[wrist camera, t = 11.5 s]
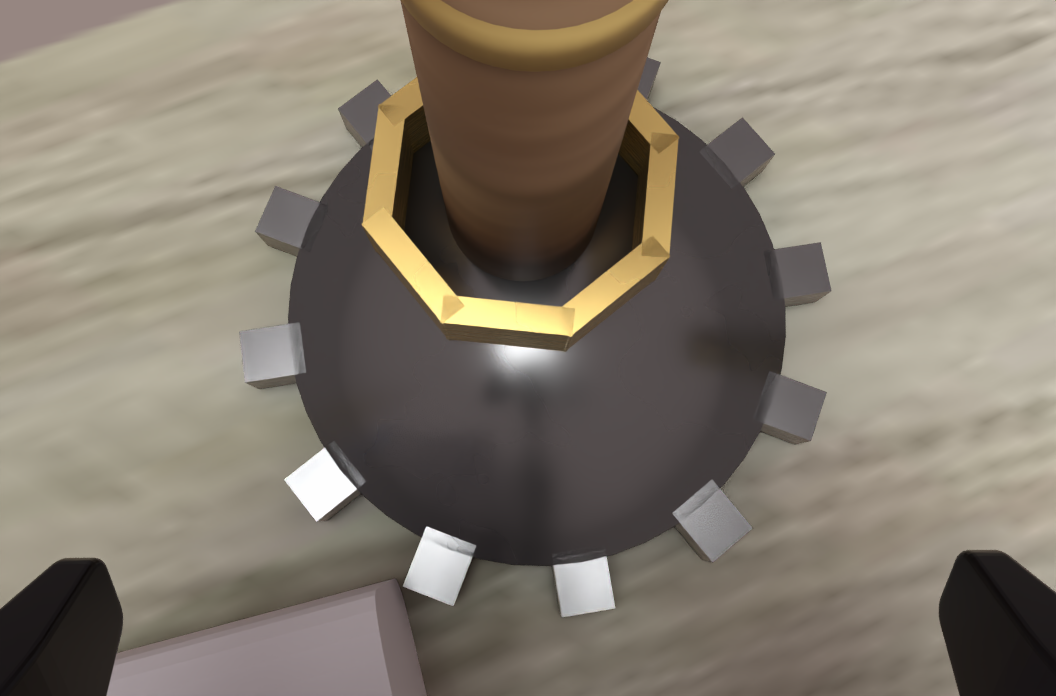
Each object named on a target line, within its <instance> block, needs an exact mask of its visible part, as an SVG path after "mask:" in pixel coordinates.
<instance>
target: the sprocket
mask: <svg viewBox="0 0 1056 696" xmlns="http://www.w3.org/2000/svg"><path fill="white" fill-rule="evenodd" d="M660 63H661V62H658V61H655V60H653V59H650V58H647V59H646V63H645V66H644V69H643V73H642V76H641V79H640V82H639V86H638V89H637V92H636V96H635V99H634V102H633V106H632V109H631V112H630V116H629V119H628V122H627V126H626V129H625V132H624V136H623V139H622V142H621V146H620V149H619V152H618V156H617V159H616V162H615V166H614V169H613V172H612V176H611V179H610V182H609V186H608V189H607V192H606V196H605V199H604V202H603V206H602V209H601V212H600V216H599V219H598V222H597V225H596V229H595V232H594V234H593V237H592V239H591V241H590V243H589V245H588V246H587V248H586V249H585V251H584V252H583V253H582V255H581V256H580V257H579V258H578V259H577V260H576V261H575V262H574V263H572V264H571V265H570V266H569V267H567V268H566V269H564V270H563V271H561V272H559V273H557V274H555V275H553V276H550V277H547V278H544V279H539V280H534V281H512V280H507V279H502V278H499V277H496V276H493V275H491V274H489V273H487V272H485V271H483V270H482V269H480V268H479V267H477V266H476V265H475V264H473V263H472V262H471V261H470V260H469V259H468V258H467V257H466V256H465V255H464V254H463V252H462V251H461V250H460V248H459V247H458V245H457V244H456V242H455V240H454V238H453V236H452V233H451V230H450V227H449V223H448V218H447V214H446V209H445V204H444V200H443V195H442V190H441V186H440V181H439V176H438V172H437V167H436V163H435V158H434V153H433V149H432V144H431V139H430V135H429V130H428V125H427V121H426V116H425V111H424V107H423V102H422V97H421V93H420V88H419V83H418V79H417V77H416V78H415V79H414V80H412V81H411V82H410V83H408V84H407V85H406V86H404V87H403V88H402V89H400V90H399V91H398V92H396V93H395V94H393V95H392V96H391V95H390V94H389V93H388V92H387V90H386V89H385V88H384V87H383V86H382V84H381V83H380V82H379V81H378V80H376V81H375V82H373V83H372V84H371V85H369V86H368V87H367V88H365V89H364V90H362V91H361V92H360V93H358V94H357V95H356V96H354V97H353V98H352V99H350V100H349V101H348V102H346V103H345V104H343V105H342V106H341V107H339V108H338V110H339V112H340V115H341V117H342V119H343V122H344V124H345V126H346V129H347V130H348V131H349V132H350V133H351V135H352V136H353V137H354V138H355V139H356V141H357V142H358V143H359V144H360V145H361V147H362V148H361V149H360V150H359V151H358V153H357V154H356V155H355V156H354V157H353V158H352V159H351V160H350V161H349V162H348V164H347V165H346V166H345V167H344V168H343V169H342V170H341V171H340V173H339V174H338V176H337V177H336V178H335V180H334V181H333V183H332V184H331V186H330V187H329V189H328V190H327V191H326V193H325V194H324V196H323V197H322V199H321V201H320V202H317V201H315V200H312V199H309V198H306V197H304V196H301V195H298V194H296V193H293V192H290V191H288V190H285V189H282V188H280V187H277V186H275V188H274V190H273V192H272V195H271V197H270V199H269V201H268V204H267V206H266V208H265V210H264V212H263V215H262V217H261V219H260V221H259V224H258V226H257V228H256V230H255V232H256V233H257V234H258V235H259V236H260V237H261V238H262V239H263V241H264V242H265V243H266V244H267V245H268V246H271V247H273V248H276V249H279V250H281V251H284V252H287V253H289V254H292V255H295V256H297V259H296V264H295V268H294V273H293V278H292V282H291V289H290V301H289V314H288V323H289V324H285V325H279V326H272V327H266V328H259V329H253V330H246V331H240V332H239V333H240V342H241V351H242V360H243V369H244V378H245V383H247V384H249V385H251V386H254V387H256V388H258V389H262V388H269V387H275V386H281V385H288V384H294V383H297V386H298V389H299V392H300V395H301V398H302V401H303V404H304V407H305V410H306V413H307V415H308V417H309V419H310V421H311V423H312V425H313V427H314V429H315V431H316V433H317V435H318V437H319V439H320V441H321V443H322V444H323V446H324V447H325V448H324V449H322V450H321V451H320V452H318V453H317V454H316V455H315V456H313V457H312V458H311V459H310V460H308V461H307V462H306V463H305V464H303V465H302V466H301V467H299V468H298V469H297V470H296V471H294V472H293V473H292V474H291V475H289V476H288V477H287V478H286V479H284V480H285V481H286V483H287V484H288V485H289V487H290V488H291V489H292V490H293V492H294V493H295V494H296V496H297V497H298V498H299V500H300V501H301V502H302V503H303V505H304V506H305V507H306V509H307V510H308V511H309V513H310V514H311V515H312V516H313V518H314V519H315V520H316V522H318V521H327V520H329V519H330V518H331V517H332V516H334V515H335V514H336V513H337V512H338V511H340V510H341V509H342V508H343V507H345V506H346V505H347V504H348V503H350V502H351V501H352V500H353V499H355V498H356V497H357V496H358V495H360V494H362V495H363V496H364V497H366V498H367V499H368V500H369V501H370V502H371V503H373V504H374V505H375V506H376V507H377V508H378V509H380V510H381V511H382V512H383V513H384V514H385V515H387V516H388V517H389V518H391V519H393V520H394V521H396V522H397V523H399V524H400V525H402V526H403V527H405V528H407V529H408V530H410V531H411V532H413V533H414V534H416V535H418V536H420V537H422V539H421V541H420V544H419V546H418V549H417V551H416V554H415V557H414V559H413V562H412V564H411V567H410V569H409V572H408V574H407V577H406V579H405V582H404V585H403V587H406V588H408V589H411V590H413V591H416V592H418V593H421V594H423V595H426V596H428V597H431V598H434V599H436V600H439V601H441V602H444V603H446V604H449V605H451V606H454V604H455V602H456V600H457V598H458V595H459V593H460V590H461V587H462V585H463V582H464V579H465V577H466V574H467V572H468V569H469V566H470V564H471V561H472V558H473V557H474V558H477V559H482V560H488V561H494V562H499V563H505V564H511V565H534V566H551V565H552V571H553V577H554V583H555V589H556V595H557V602H558V608H559V612H560V614H561V617H567V616H573V615H579V614H585V613H591V612H597V611H603V610H609V609H614V608H615V604H614V598H613V592H612V586H611V580H610V575H609V569H608V563H607V557H606V556H610V555H614V554H617V553H619V552H622V551H624V550H627V549H630V548H632V547H635V546H637V545H640V544H642V543H645V542H647V541H649V540H650V539H652V538H654V537H656V536H658V535H660V534H661V533H663V532H665V531H667V530H669V529H670V528H672V527H674V526H675V527H676V529H677V530H678V531H679V532H680V534H681V535H682V536H683V537H684V538H685V540H686V541H687V542H688V543H689V544H690V546H691V547H692V548H693V549H694V551H695V552H696V553H697V554H698V555H699V557H700V558H701V559H702V560H705V561H709V562H714V561H715V560H716V559H717V558H719V557H720V556H721V555H722V554H723V553H724V552H726V551H727V550H728V549H729V548H730V547H731V546H733V545H734V544H735V543H736V542H737V541H738V540H740V539H741V538H742V537H743V536H744V535H745V534H746V533H748V532H749V531H750V530H751V529H752V526H751V525H750V524H749V523H748V522H747V520H746V519H745V518H744V517H743V516H742V514H741V513H740V512H739V511H738V510H737V508H736V507H735V506H734V505H733V504H732V502H731V501H730V500H729V499H728V498H727V496H726V495H725V494H724V493H723V492H722V491H721V489H720V488H721V487H722V486H723V485H724V484H725V482H726V481H727V480H728V478H729V477H730V476H731V475H732V473H733V472H734V471H735V470H736V468H737V467H738V466H739V464H740V463H741V462H742V461H743V459H744V458H745V456H746V455H747V453H748V451H749V449H750V448H751V446H752V444H753V443H754V441H755V439H756V437H757V436H758V434H759V432H760V431H761V432H763V433H766V434H769V435H771V436H774V437H777V438H779V439H782V440H785V441H787V442H790V443H793V444H799V443H804V442H808V441H811V439H812V436H813V433H814V429H815V426H816V423H817V420H818V417H819V414H820V411H821V408H822V405H823V402H824V399H825V396H826V393H827V392H824V391H822V390H819V389H816V388H814V387H811V386H808V385H806V384H803V383H800V382H798V381H795V380H792V379H790V378H787V377H784V376H782V375H780V373H781V369H782V362H783V354H784V346H785V337H786V329H785V307H787V306H793V305H800V304H806V303H813V302H816V301H817V300H819V299H820V298H822V297H823V296H825V295H826V294H828V293H829V292H831V287H830V282H829V278H828V273H827V269H826V264H825V260H824V255H823V251H822V246H821V242H820V243H814V244H807V245H801V246H794V247H787V248H781V249H774V248H773V244H772V242H771V239H770V237H769V235H768V232H767V230H766V228H765V225H764V223H763V221H762V218H761V216H760V214H759V212H758V210H757V209H756V207H755V205H754V204H753V202H752V200H751V199H750V197H749V195H748V194H747V192H746V190H745V188H744V187H743V186H745V185H746V184H747V183H748V182H750V181H751V180H752V179H753V178H755V177H756V176H757V175H758V174H760V173H761V172H762V171H763V170H764V168H765V167H766V166H767V164H768V163H769V162H770V160H771V159H772V158H773V156H774V155H775V153H774V152H773V151H772V150H771V149H770V148H769V147H768V145H767V144H766V143H765V142H764V141H763V140H762V139H761V138H760V136H759V135H758V134H757V133H756V132H755V131H754V130H753V129H752V128H751V126H750V125H749V124H748V123H747V122H746V121H745V120H744V119H743V117H742V118H741V119H740V120H738V121H737V122H736V123H735V124H733V125H732V126H731V127H730V128H728V129H727V130H726V131H725V132H723V133H722V134H721V135H720V136H718V137H717V138H716V139H714V140H713V141H712V142H711V143H709V144H708V145H706V144H705V143H704V142H703V141H702V140H701V139H700V138H698V137H697V136H696V135H695V134H693V133H692V132H691V131H689V130H688V129H687V128H685V127H684V126H683V125H682V124H680V123H679V122H678V121H676V120H674V119H673V118H671V117H669V116H668V115H666V114H664V113H662V112H661V111H659V110H657V109H656V108H654V107H652V106H651V105H650V103H649V102H648V101H647V99H648V97H649V94H650V92H651V89H652V86H653V84H654V81H655V78H656V75H657V72H658V69H659V66H660Z"/></svg>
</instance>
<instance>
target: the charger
mask: <svg viewBox="0 0 1056 696" xmlns="http://www.w3.org/2000/svg"><path fill="white" fill-rule="evenodd" d="M107 696H427V694H426V690H425V685H424V681H423V677H422V672H421V668H420V664H419V660H418V655H417V651H416V647H415V643H414V639H413V635H412V630H411V626H410V622H409V618H408V614H407V610H406V606H405V602H404V599H403V596H402V592H401V590H400V587H399V584H398V582H397V580H396V579H395V578H394V579H391V580H387V581H383V582H379V583H376V584H372V585H368V586H365V587H361V588H357V589H353V590H350V591H346V592H342V593H339V594H335V595H331V596H327V597H324V598H320V599H316V600H313V601H309V602H305V603H301V604H298V605H294V606H290V607H287V608H283V609H279V610H275V611H272V612H268V613H264V614H261V615H257V616H253V617H249V618H246V619H242V620H238V621H235V622H231V623H227V624H223V625H220V626H216V627H212V628H208V629H205V630H201V631H197V632H194V633H190V634H186V635H182V636H179V637H175V638H171V639H168V640H164V641H160V642H156V643H153V644H149V645H145V646H142V647H138V648H134V649H130V650H127V651H123V652H119V653H117V654H116V658H115V663H114V667H113V671H112V675H111V679H110V684H109V688H108V692H107Z"/></svg>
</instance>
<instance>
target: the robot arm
mask: <svg viewBox="0 0 1056 696" xmlns="http://www.w3.org/2000/svg"><path fill="white" fill-rule="evenodd" d="M939 620H940V625H941V628H942V632H943V636H944V639H945V643H946V647H947V651H948V654H949V658H950V662H951V665H952V669H953V673H954V676H955V680H956V684H957V687H958V691H959V695H960V696H1056V592H1055V591H1053V590H1052V589H1051V588H1050V587H1048V586H1047V585H1046V584H1044V583H1043V582H1042V581H1041V580H1039V579H1038V578H1037V577H1036V576H1034V575H1033V574H1032V573H1031V572H1029V571H1028V570H1027V569H1026V568H1024V567H1023V566H1022V565H1020V564H1019V563H1018V562H1017V561H1015V560H1014V559H1013V558H1012V557H1010V556H1009V555H1007V554H1006V553H1004V552H1002V551H998V550H966V551H963V552H962V553H960V554H959V555H958V556H957V558H956V560H955V563H954V565H953V568H952V570H951V573H950V576H949V578H948V581H947V583H946V586H945V588H944V591H943V593H942V596H941V599H940V603H939ZM122 626H123V613H122V608H121V605H120V602H119V599H118V597H117V594H116V591H115V588H114V586H113V583H112V580H111V577H110V575H109V572H108V569H107V567H106V565H105V563H104V562H103V561H102V560H100V559H98V558H64V559H61V560H59V561H57V562H55V563H54V564H52V565H51V566H50V567H49V568H48V569H46V570H45V571H44V572H43V573H42V574H41V575H39V576H38V577H37V578H36V579H35V580H33V581H32V582H31V583H30V584H29V585H28V586H26V587H25V588H24V589H23V590H22V591H21V592H19V593H18V594H17V595H16V596H15V597H14V598H12V599H11V600H10V601H9V602H8V603H7V604H5V605H4V606H3V607H2V608H1V609H0V696H107V692H108V688H109V684H110V679H111V675H112V671H113V667H114V663H115V658H116V654H117V650H118V646H119V641H120V637H121V633H122Z"/></svg>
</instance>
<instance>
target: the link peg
mask: <svg viewBox="0 0 1056 696" xmlns="http://www.w3.org/2000/svg"><path fill="white" fill-rule="evenodd" d="M667 2H668V0H401V4H402V9H403V14H404V18H405V23H406V28H407V32H408V37H409V42H410V46H411V51H412V56H413V60H414V65H415V70H416V74H417V79H418V83H419V88H420V93H421V97H422V102H423V107H424V111H425V116H426V121H427V125H428V130H429V135H430V139H431V144H432V149H433V153H434V158H435V163H436V167H437V172H438V176H439V181H440V186H441V190H442V195H443V200H444V204H445V209H446V214H447V218H448V223H449V227H450V230H451V233H452V236H453V238H454V240H455V242H456V244H457V245H458V247H459V248H460V250H461V251H462V252H463V254H464V255H465V256H466V257H467V258H468V259H469V260H470V261H471V262H472V263H473V264H475V265H476V266H477V267H479V268H480V269H482V270H483V271H485V272H487V273H489V274H491V275H493V276H496V277H499V278H502V279H507V280H512V281H534V280H539V279H544V278H547V277H550V276H553V275H555V274H557V273H559V272H561V271H563V270H564V269H566V268H567V267H569V266H570V265H571V264H572V263H574V262H575V261H576V260H577V259H578V258H579V257H580V256H581V255H582V253H583V252H584V251H585V249H586V248H587V246H588V245H589V243H590V241H591V239H592V237H593V234H594V232H595V229H596V225H597V222H598V219H599V216H600V212H601V209H602V206H603V202H604V199H605V196H606V192H607V189H608V186H609V182H610V179H611V176H612V172H613V169H614V166H615V162H616V159H617V156H618V152H619V149H620V146H621V142H622V139H623V136H624V132H625V129H626V126H627V122H628V119H629V116H630V112H631V109H632V106H633V102H634V99H635V96H636V92H637V89H638V86H639V82H640V79H641V76H642V73H643V69H644V66H645V63H646V59H647V56H648V53H649V49H650V46H651V43H652V39H653V36H654V33H655V29H656V26H657V23H658V19H659V16H660V13H661V10H662V9H663V8H664V6H665V5H666V3H667Z"/></svg>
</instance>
